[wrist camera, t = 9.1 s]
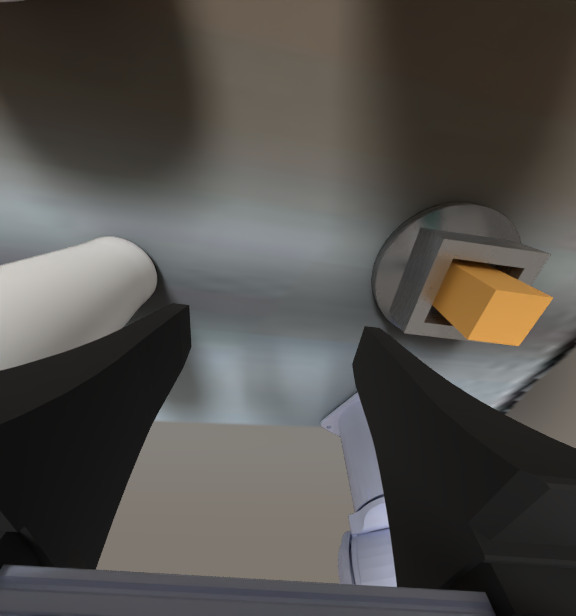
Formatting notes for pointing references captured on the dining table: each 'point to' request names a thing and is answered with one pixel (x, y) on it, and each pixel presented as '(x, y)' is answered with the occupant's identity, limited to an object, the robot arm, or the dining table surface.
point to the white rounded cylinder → (70, 297)
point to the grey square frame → (444, 262)
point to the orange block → (488, 303)
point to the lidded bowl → (10, 0)
